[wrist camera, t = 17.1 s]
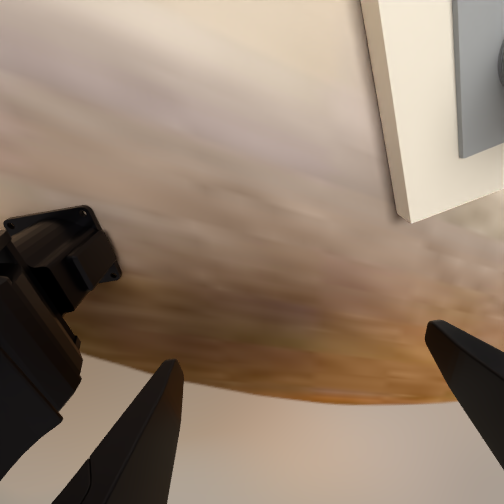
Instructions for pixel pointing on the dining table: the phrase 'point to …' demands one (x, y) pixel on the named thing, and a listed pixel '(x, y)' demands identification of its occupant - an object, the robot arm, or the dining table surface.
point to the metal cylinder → (501, 64)
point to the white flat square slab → (438, 99)
